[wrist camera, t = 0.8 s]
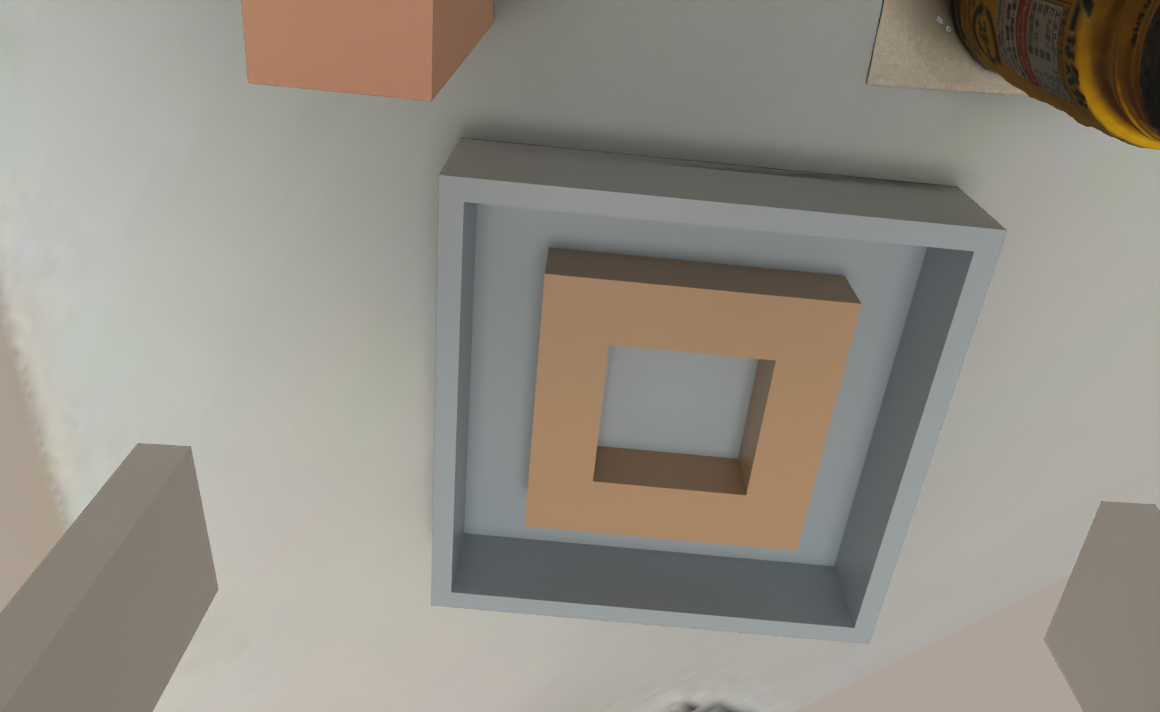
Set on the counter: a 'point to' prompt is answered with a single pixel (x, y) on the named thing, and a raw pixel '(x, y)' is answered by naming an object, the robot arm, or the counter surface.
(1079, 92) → the condiment
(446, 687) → the counter surface
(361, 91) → the peg
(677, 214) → the tray box
